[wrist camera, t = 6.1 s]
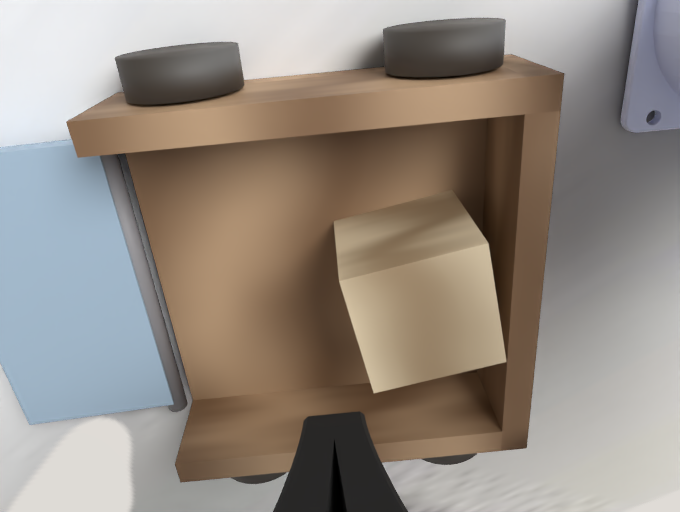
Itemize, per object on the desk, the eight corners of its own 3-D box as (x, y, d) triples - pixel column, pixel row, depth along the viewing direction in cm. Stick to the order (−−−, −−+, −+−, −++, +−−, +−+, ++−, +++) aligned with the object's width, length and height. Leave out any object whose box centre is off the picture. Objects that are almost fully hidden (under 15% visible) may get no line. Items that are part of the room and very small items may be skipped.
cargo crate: (452, 189, 20) (488, 243, 16) (470, 291, 22) (506, 362, 18) (333, 221, 20) (338, 281, 16) (362, 318, 22) (373, 393, 18)
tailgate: (103, 125, 18) (-101, 147, 17) (185, 411, 23) (33, 433, 23) (113, 117, 19) (-79, 138, 18) (189, 393, 24) (44, 413, 24)
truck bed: (514, 12, 18) (569, 21, 14) (492, 397, 25) (524, 471, 22) (106, 52, 18) (50, 71, 14) (206, 425, 25) (187, 505, 21)
